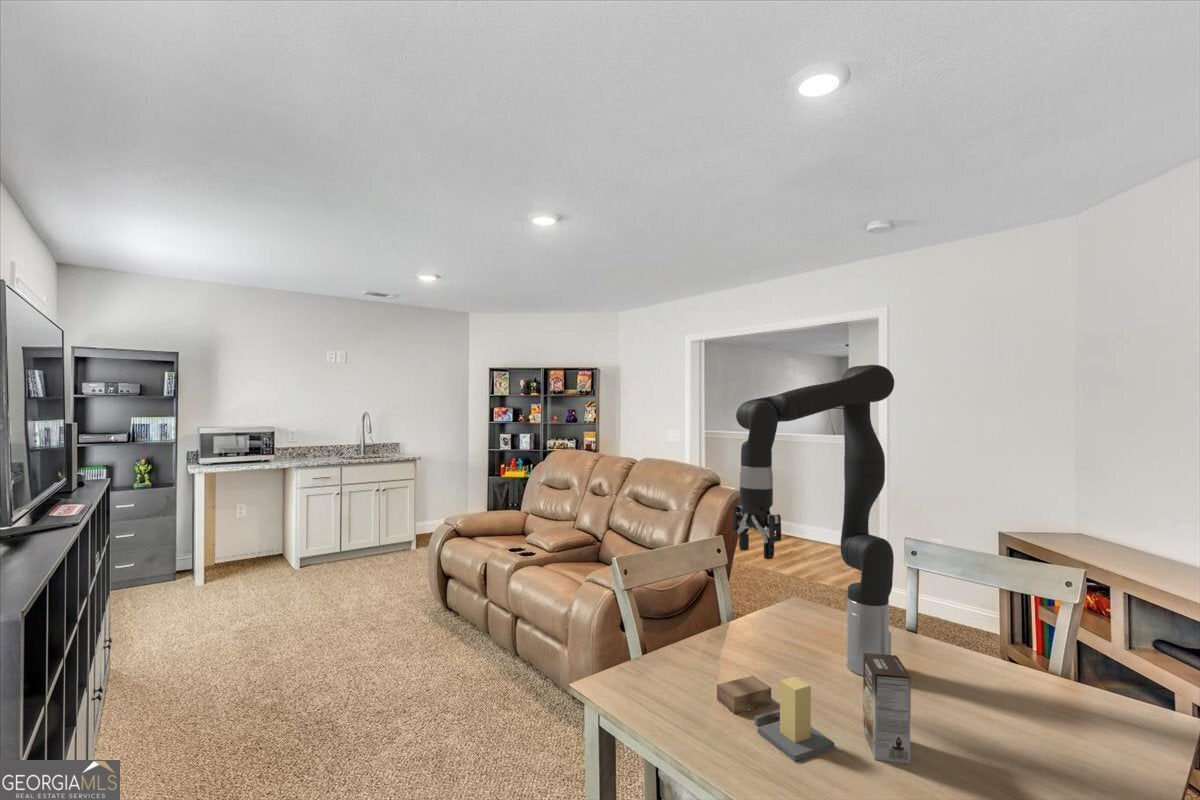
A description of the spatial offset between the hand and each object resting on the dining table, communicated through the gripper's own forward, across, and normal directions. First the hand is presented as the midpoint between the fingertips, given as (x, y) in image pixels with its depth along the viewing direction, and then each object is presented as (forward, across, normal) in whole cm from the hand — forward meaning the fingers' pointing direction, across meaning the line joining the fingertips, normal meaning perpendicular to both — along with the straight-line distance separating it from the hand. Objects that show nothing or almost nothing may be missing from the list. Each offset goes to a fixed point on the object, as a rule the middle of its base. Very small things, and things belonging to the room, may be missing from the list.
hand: (755, 554), depth 132 cm
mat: (+30, -21, +8) cm, 38 cm away
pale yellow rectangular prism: (+29, -21, +8) cm, 37 cm away
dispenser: (+30, -8, +8) cm, 32 cm away
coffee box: (+30, -30, -6) cm, 43 cm away
